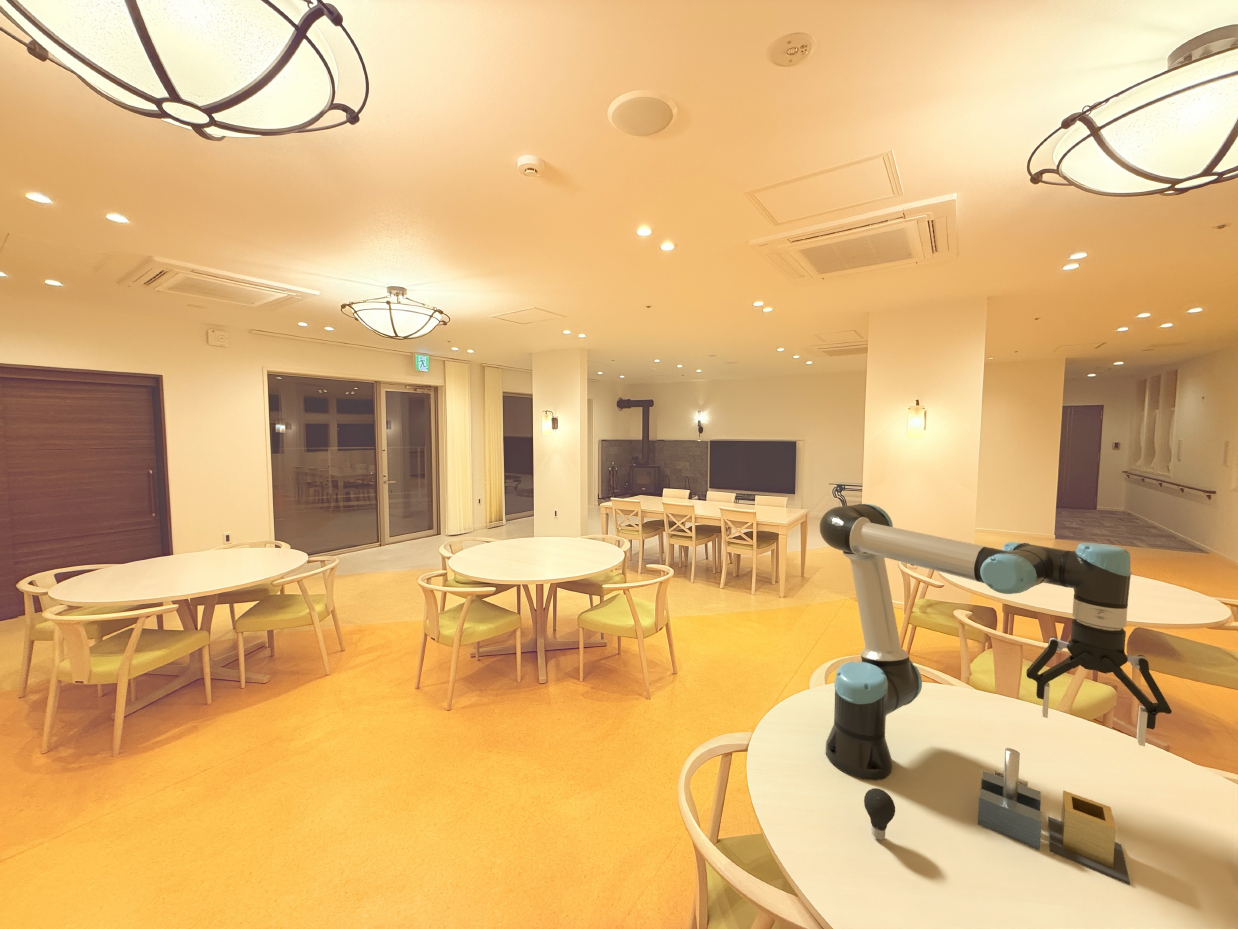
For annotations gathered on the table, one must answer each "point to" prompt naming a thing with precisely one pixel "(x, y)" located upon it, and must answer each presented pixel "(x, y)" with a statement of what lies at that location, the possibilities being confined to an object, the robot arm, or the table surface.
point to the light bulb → (879, 811)
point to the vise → (1010, 804)
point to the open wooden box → (1088, 828)
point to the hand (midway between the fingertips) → (1090, 728)
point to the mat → (1057, 848)
